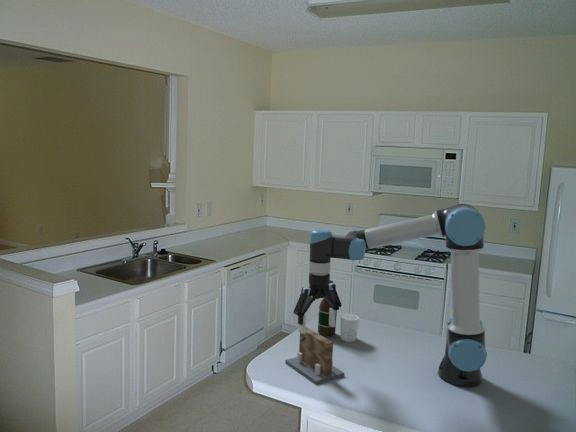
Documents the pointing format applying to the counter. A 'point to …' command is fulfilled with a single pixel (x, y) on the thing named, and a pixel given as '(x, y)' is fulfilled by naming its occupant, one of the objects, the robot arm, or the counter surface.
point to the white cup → (349, 327)
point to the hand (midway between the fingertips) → (317, 329)
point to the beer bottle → (325, 318)
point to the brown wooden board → (316, 351)
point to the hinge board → (312, 370)
